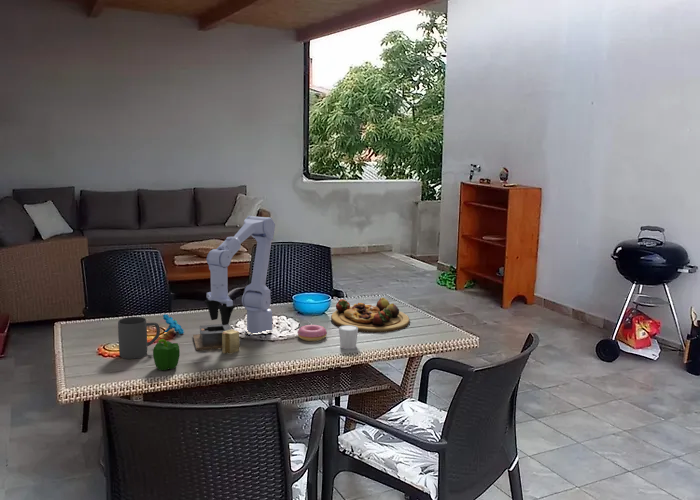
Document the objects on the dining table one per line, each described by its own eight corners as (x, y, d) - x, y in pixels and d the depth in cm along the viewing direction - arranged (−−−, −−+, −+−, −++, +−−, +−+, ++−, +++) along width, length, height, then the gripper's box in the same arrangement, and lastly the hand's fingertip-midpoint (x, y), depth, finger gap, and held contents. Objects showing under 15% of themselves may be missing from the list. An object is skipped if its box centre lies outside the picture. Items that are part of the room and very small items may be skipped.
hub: (234, 334, 243) (234, 321, 242) (239, 347, 229) (239, 333, 228) (193, 337, 239) (192, 324, 238) (196, 350, 225) (196, 336, 224)
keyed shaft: (232, 348, 228) (232, 328, 226) (239, 351, 225) (239, 331, 224) (220, 351, 224) (219, 332, 223) (227, 354, 221) (226, 334, 220)
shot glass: (344, 350, 228) (344, 331, 227) (335, 344, 234) (335, 326, 233) (361, 347, 231) (361, 329, 230) (352, 342, 237) (352, 323, 236)
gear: (183, 333, 237) (163, 314, 236) (171, 345, 237) (151, 326, 236) (187, 328, 248) (168, 310, 247) (176, 339, 248) (157, 321, 247)
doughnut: (307, 331, 249) (307, 321, 248) (332, 336, 244) (332, 325, 243) (291, 339, 239) (291, 328, 239) (317, 344, 234) (317, 333, 234)
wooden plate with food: (314, 321, 263) (314, 302, 261) (364, 305, 286) (365, 287, 285) (376, 340, 242) (377, 319, 241) (424, 322, 266) (425, 302, 265)
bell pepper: (175, 361, 214) (174, 332, 212) (183, 369, 207) (182, 339, 205) (149, 366, 209) (148, 336, 207) (157, 374, 202) (156, 343, 200)
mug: (122, 361, 213) (121, 325, 211) (116, 352, 221) (115, 318, 219) (164, 354, 220) (163, 320, 218) (157, 346, 228) (155, 313, 226)
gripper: (198, 281, 226) (199, 319, 229) (219, 289, 215) (220, 329, 218) (216, 279, 231) (217, 315, 233) (238, 286, 220) (238, 325, 222)
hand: (219, 322), depth 226 cm, fingers open, 7 cm apart
